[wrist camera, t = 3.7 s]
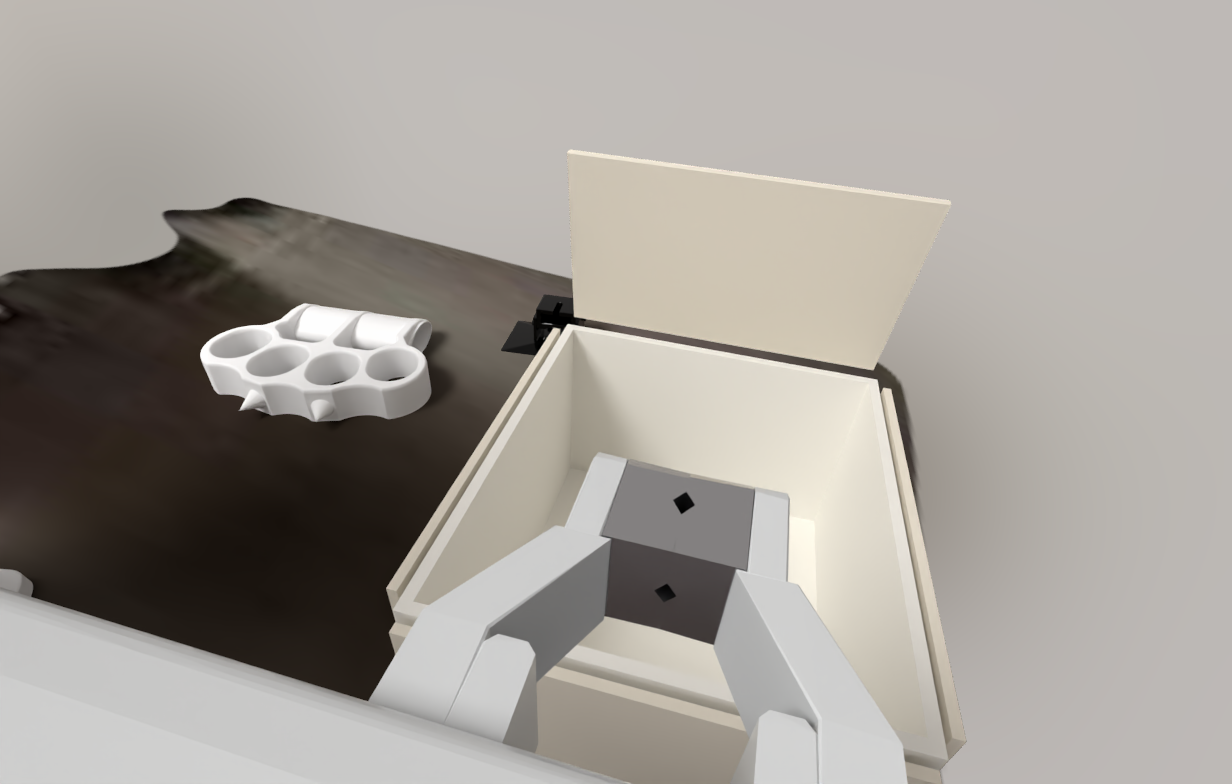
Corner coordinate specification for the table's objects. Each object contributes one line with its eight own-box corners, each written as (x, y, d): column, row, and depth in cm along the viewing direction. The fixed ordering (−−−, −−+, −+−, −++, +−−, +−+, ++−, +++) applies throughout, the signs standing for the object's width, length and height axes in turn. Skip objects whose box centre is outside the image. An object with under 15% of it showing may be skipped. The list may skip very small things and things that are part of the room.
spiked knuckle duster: (466, 345, 56) (398, 451, 44) (284, 320, 57) (172, 416, 46) (463, 314, 54) (390, 416, 42) (274, 289, 55) (154, 381, 44)
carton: (415, 769, 27) (364, 621, 20) (557, 464, 43) (557, 322, 36) (851, 905, 24) (977, 791, 17) (829, 524, 40) (889, 381, 33)
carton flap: (567, 153, 28) (569, 149, 28) (573, 316, 36) (575, 312, 36) (951, 205, 26) (950, 200, 26) (873, 370, 33) (873, 365, 33)
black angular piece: (483, 357, 55) (480, 313, 52) (507, 318, 60) (505, 277, 58) (618, 376, 54) (621, 333, 51) (628, 334, 59) (632, 293, 57)
